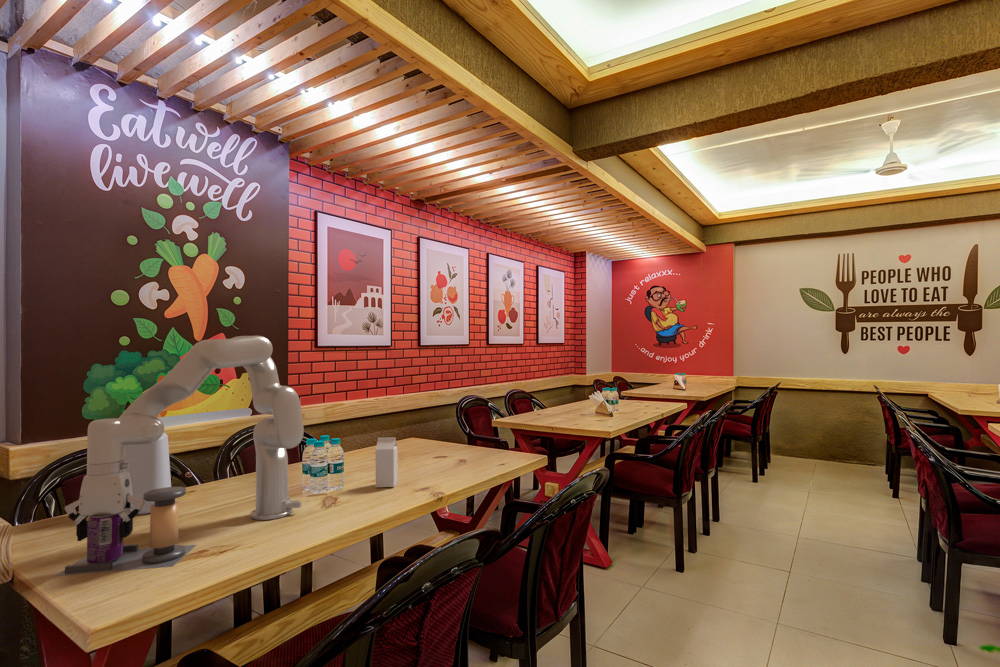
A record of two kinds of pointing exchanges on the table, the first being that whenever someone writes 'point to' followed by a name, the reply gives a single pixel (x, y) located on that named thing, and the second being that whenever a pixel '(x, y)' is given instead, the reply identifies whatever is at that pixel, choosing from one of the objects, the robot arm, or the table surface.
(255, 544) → the table surface
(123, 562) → the board
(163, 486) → the plastic bottle
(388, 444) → the milk carton
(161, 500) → the bobbin
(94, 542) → the beverage can
